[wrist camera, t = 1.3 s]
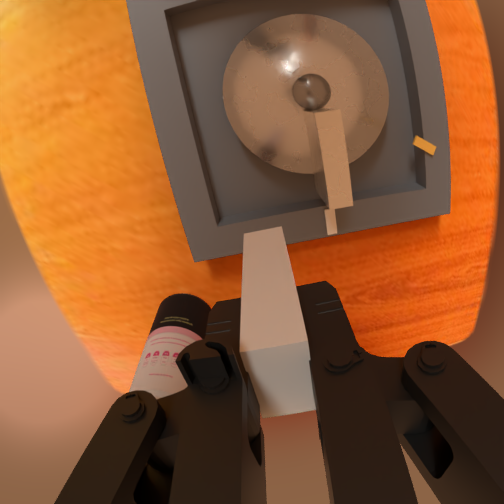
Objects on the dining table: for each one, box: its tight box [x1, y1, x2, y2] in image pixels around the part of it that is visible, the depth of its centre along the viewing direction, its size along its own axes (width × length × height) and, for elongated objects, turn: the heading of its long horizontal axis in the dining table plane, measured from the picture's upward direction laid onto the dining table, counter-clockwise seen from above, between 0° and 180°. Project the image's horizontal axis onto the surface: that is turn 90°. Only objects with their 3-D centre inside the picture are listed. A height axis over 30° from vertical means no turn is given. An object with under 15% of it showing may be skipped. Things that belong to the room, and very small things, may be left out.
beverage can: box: [129, 294, 211, 399], centre depth 30 cm, size 6×7×15 cm
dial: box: [223, 14, 389, 210], centre depth 22 cm, size 16×14×7 cm
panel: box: [126, 0, 451, 262], centre depth 25 cm, size 26×26×4 cm
